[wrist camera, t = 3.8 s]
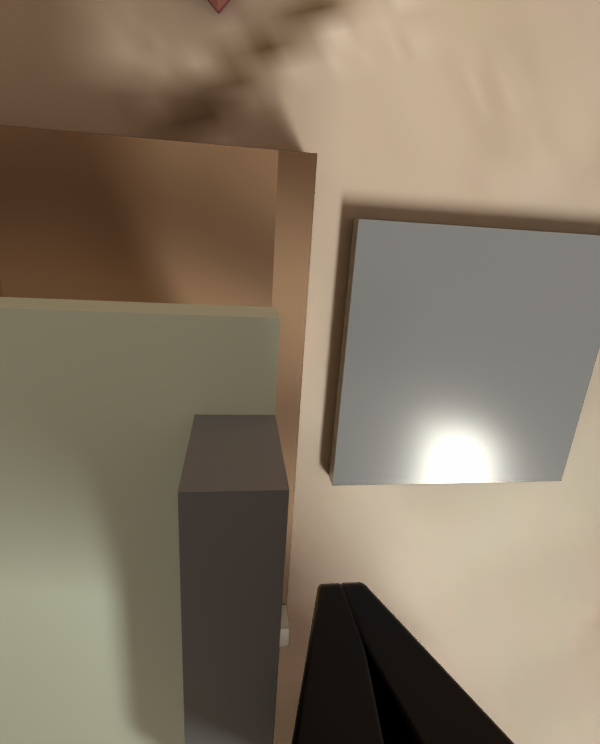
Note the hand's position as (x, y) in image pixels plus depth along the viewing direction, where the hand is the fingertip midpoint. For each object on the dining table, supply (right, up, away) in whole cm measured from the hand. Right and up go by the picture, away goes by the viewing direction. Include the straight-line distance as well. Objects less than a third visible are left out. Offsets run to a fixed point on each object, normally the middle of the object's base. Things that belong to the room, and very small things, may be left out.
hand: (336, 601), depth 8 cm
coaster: (+5, +4, +8) cm, 10 cm away
